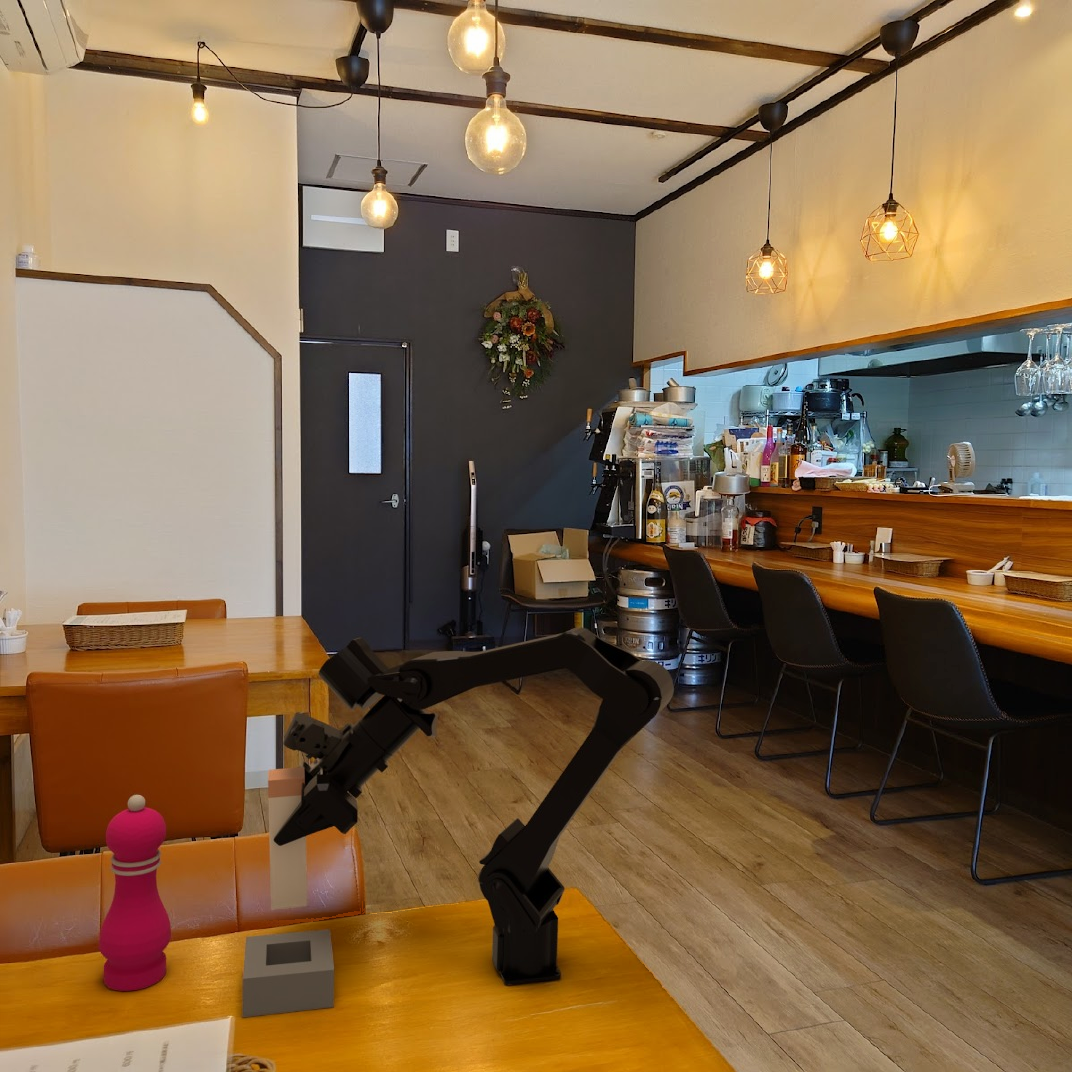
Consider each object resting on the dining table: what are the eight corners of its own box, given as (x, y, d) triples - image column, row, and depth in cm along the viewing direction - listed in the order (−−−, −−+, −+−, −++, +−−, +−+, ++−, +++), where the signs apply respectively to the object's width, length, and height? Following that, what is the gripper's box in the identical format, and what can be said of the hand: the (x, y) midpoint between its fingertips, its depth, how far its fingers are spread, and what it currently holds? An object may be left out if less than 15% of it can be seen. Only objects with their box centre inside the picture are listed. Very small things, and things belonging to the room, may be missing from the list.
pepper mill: (145, 998, 99) (146, 809, 97) (83, 989, 100) (84, 802, 99) (184, 964, 106) (186, 787, 105) (126, 955, 107) (127, 781, 106)
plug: (306, 891, 113) (304, 767, 111) (307, 906, 109) (304, 777, 108) (271, 894, 112) (269, 769, 111) (271, 910, 108) (268, 780, 107)
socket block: (329, 963, 107) (329, 929, 107) (333, 1007, 98) (334, 969, 98) (245, 972, 104) (246, 936, 104) (242, 1017, 96) (242, 978, 96)
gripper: (325, 674, 119) (232, 765, 117) (327, 710, 100) (217, 818, 99) (388, 734, 121) (297, 824, 119) (401, 780, 103) (294, 887, 101)
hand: (277, 835), depth 109 cm, fingers closed on plug, 4 cm apart
